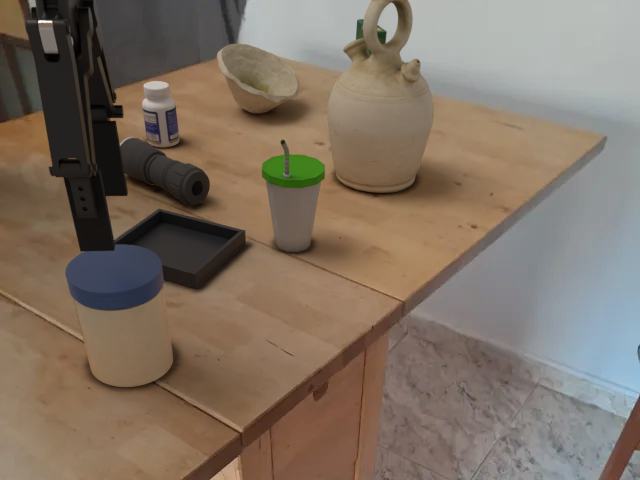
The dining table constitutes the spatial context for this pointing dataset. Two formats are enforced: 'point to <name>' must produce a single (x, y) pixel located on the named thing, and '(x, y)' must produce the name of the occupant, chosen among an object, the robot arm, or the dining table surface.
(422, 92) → the jug
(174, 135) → the pill bottle
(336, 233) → the dining table surface
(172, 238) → the tray
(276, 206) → the cup
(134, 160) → the flashlight
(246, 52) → the bowl
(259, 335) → the dining table surface
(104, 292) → the lid
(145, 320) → the jar
